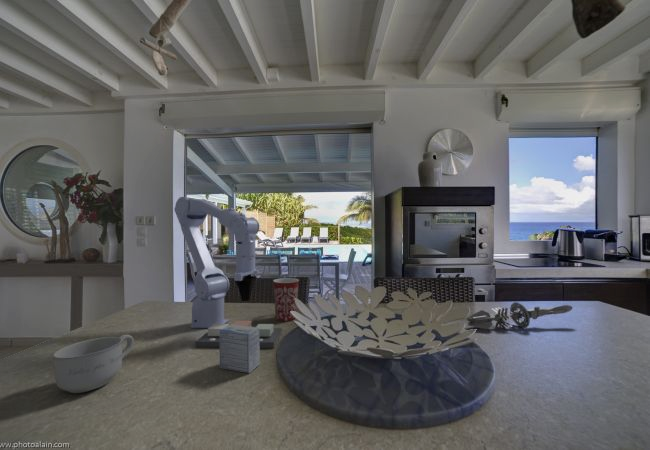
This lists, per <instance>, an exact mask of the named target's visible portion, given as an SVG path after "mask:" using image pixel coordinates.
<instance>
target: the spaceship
mask: <svg viewBox="0 0 650 450" xmlns="http://www.w3.org/2000/svg"><path fill="white" fill-rule="evenodd" d="M573 308H574V307H573V306H572V305H569V304H568V305H567V304H565V305H564V304H563V305H557V306H556V305H555V306H554V307H540V306H539V305H538V306H536V305H535V306H534V308H526V307H525V306H524V305H523V304H522V303H520V302H518V301H515V302H513V303H512V304H510V307H509V313H508V307H505V308H504V307H503V308H501V307H494V308H490V309H491V310H492V311H493V312H495V313H489V312H487V311H485V310H483V309H481V310H479V311H477V312H475V313H474V314H471V315H470V316H469V317H466V321H468V322H466V323H467V326H468V327H473V328H477V329H482V330H489V329H490V328H491V327H492V326H493V321H494V322H495V327H496V326H498V327H502V328H504V329H505V328H513V325H511V324H510V322H514V323H515V325H516V326H518V327H519V326H520V327H519V328H521V327H523V328H522V329H526V328H528V326H529V325H530V324H531V323H530V322H531V319H533V320H537V319H538V318H539V317H543V316H546V315H547V316H548V315H559V314H562V315H563V314H566V313H568V312H570V311H572V310H573Z"/></svg>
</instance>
